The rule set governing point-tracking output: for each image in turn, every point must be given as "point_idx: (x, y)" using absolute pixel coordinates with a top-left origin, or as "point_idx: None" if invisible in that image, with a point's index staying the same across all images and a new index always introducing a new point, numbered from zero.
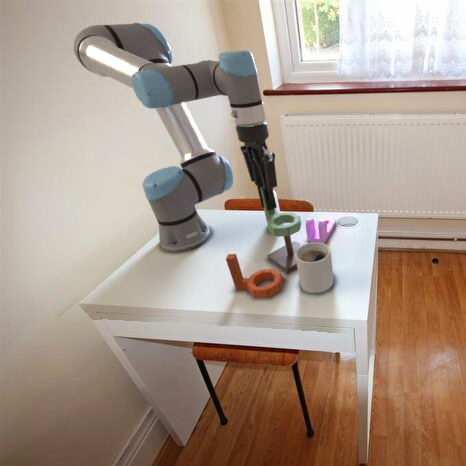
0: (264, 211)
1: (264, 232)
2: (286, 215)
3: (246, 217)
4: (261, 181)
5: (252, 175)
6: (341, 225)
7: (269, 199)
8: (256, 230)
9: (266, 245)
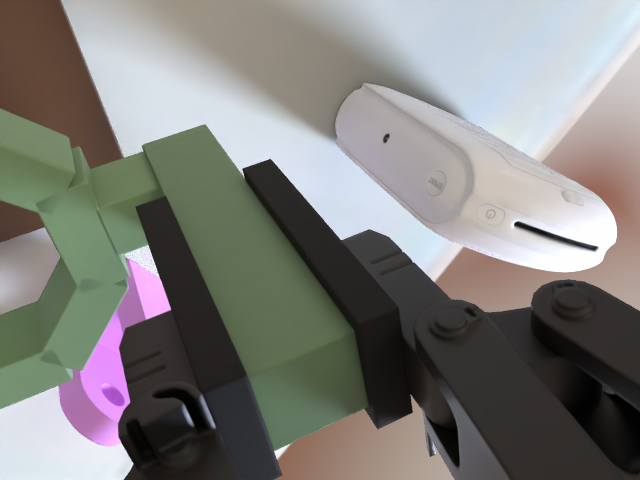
0: (445, 132)
1: (380, 51)
2: (55, 321)
3: (599, 3)
4: (437, 409)
5: (613, 379)
6: None
7: (143, 328)
8: (434, 12)
9: (229, 14)
